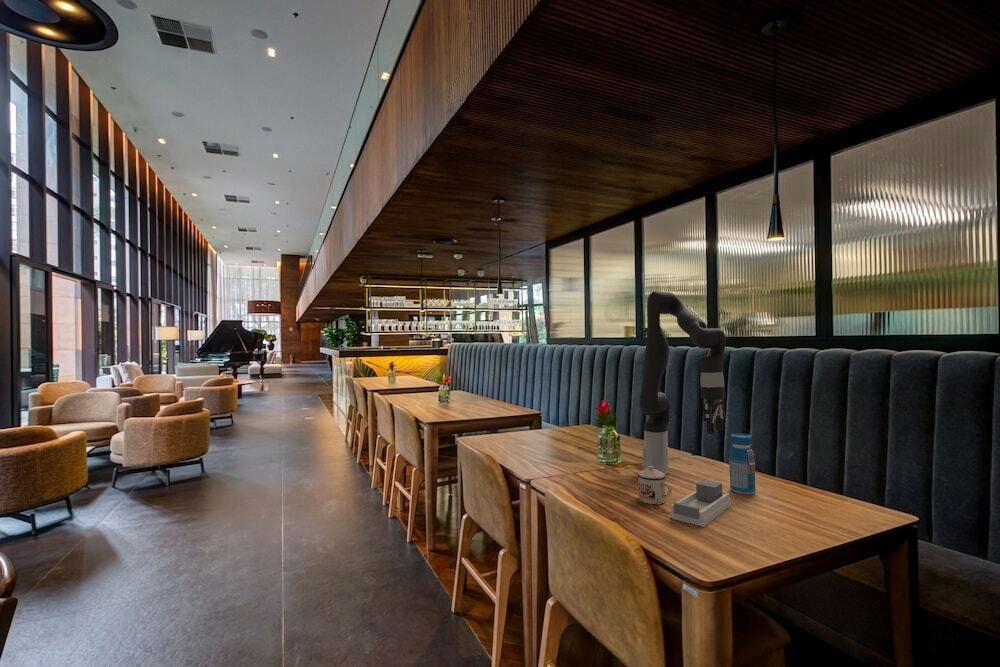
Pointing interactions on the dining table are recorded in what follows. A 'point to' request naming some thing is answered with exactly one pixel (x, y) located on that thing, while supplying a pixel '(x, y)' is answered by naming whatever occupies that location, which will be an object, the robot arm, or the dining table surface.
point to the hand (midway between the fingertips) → (715, 432)
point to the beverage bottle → (742, 464)
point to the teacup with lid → (652, 486)
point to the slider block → (708, 490)
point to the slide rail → (698, 509)
